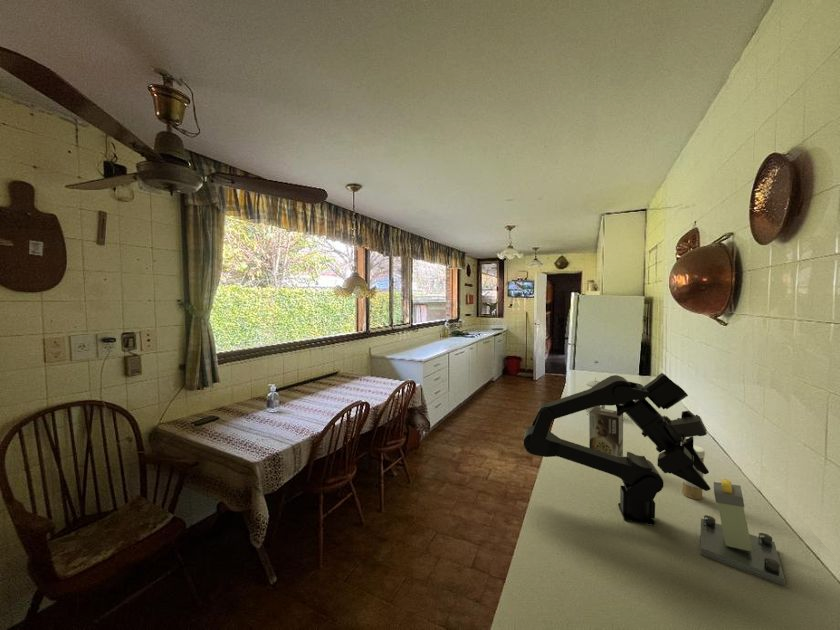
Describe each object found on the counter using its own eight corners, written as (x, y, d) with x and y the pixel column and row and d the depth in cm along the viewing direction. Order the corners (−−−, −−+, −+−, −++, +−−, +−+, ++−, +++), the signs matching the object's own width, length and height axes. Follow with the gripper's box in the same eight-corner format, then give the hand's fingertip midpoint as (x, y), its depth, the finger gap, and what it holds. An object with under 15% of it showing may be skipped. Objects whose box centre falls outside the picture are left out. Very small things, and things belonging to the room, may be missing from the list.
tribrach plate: (700, 554, 70) (700, 540, 69) (700, 524, 79) (701, 512, 78) (784, 586, 62) (785, 571, 62) (774, 548, 71) (774, 535, 71)
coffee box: (623, 459, 110) (624, 412, 109) (619, 466, 105) (619, 417, 105) (593, 451, 116) (594, 406, 116) (588, 457, 112) (588, 411, 111)
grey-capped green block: (724, 545, 69) (712, 486, 70) (723, 531, 74) (712, 475, 74) (753, 552, 67) (741, 490, 67) (751, 537, 71) (739, 479, 71)
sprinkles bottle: (677, 491, 92) (678, 444, 91) (692, 489, 92) (693, 443, 92) (692, 501, 88) (693, 451, 87) (707, 499, 88) (709, 450, 87)
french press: (578, 411, 156) (579, 359, 154) (595, 408, 161) (596, 357, 159) (597, 418, 147) (598, 363, 146) (614, 414, 152) (615, 360, 150)
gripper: (679, 413, 68) (751, 484, 62) (681, 393, 83) (740, 448, 76) (633, 440, 74) (694, 507, 67) (642, 416, 88) (694, 470, 82)
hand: (707, 481), depth 73 cm, fingers open, 8 cm apart
